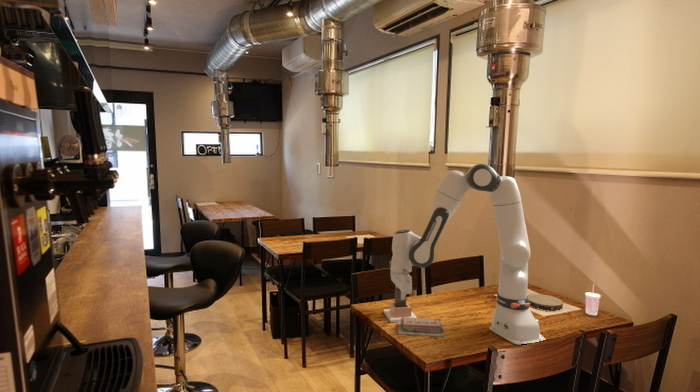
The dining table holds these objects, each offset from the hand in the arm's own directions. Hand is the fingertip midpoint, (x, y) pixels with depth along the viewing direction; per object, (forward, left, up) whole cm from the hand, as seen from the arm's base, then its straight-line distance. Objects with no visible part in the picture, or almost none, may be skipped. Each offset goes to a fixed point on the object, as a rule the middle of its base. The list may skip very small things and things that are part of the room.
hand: (400, 297), depth 181 cm
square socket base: (0, 0, -9) cm, 9 cm away
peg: (0, 0, -6) cm, 6 cm away
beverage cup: (-9, -89, -9) cm, 90 cm away
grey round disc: (+4, -74, -9) cm, 75 cm away
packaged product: (-15, -4, -10) cm, 18 cm away
